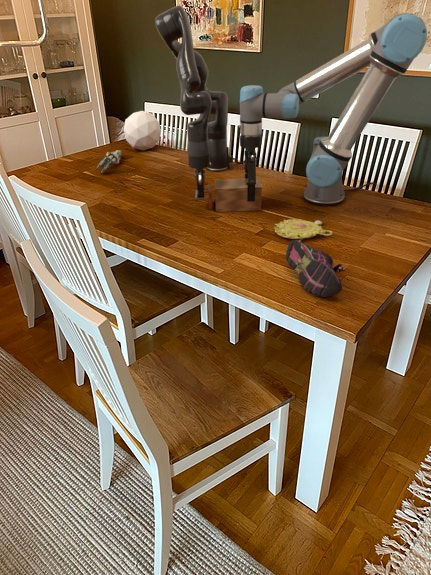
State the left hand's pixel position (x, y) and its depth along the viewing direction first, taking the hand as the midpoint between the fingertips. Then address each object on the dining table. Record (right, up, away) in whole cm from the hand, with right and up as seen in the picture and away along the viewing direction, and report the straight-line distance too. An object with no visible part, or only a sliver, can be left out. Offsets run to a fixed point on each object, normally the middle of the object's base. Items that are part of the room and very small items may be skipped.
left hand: (201, 199), depth 165 cm
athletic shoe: (+33, -31, -44) cm, 64 cm away
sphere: (-33, +42, +73) cm, 90 cm away
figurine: (-45, +26, +49) cm, 72 cm away
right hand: (+18, +1, 0) cm, 18 cm away
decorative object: (+34, -15, -19) cm, 42 cm away
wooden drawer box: (+14, -2, +2) cm, 14 cm away
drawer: (+8, -1, +1) cm, 8 cm away
